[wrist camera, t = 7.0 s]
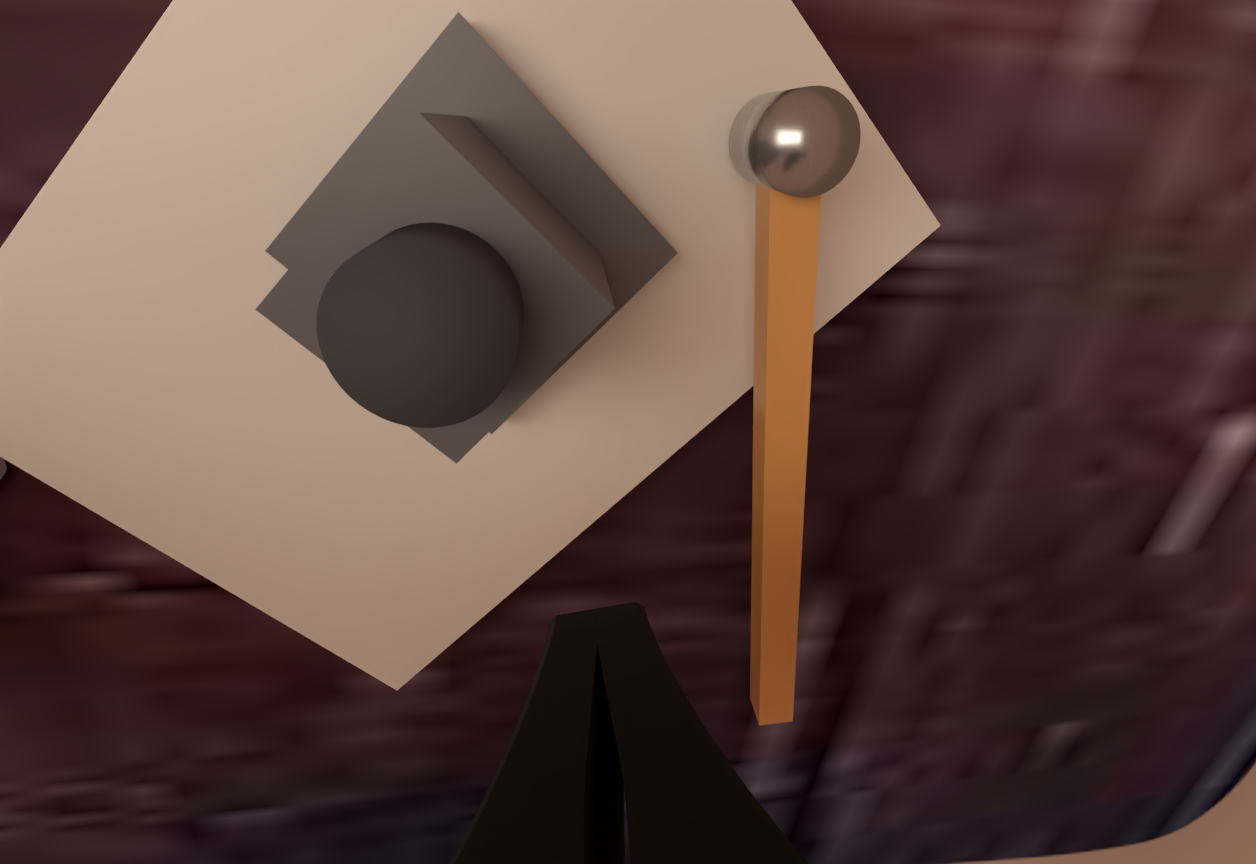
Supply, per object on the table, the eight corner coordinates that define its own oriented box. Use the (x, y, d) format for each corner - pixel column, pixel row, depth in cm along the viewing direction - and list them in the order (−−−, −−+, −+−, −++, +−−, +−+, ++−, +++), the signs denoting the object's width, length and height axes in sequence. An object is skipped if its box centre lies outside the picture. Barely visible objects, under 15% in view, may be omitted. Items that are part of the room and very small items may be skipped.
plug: (503, 382, 18) (452, 609, 10) (321, 226, 16) (48, 342, 8) (656, 229, 17) (754, 338, 8) (480, 35, 15) (365, -90, 6)
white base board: (412, 637, 22) (397, 690, 20) (-20, 362, 17) (-103, 396, 15) (895, 213, 17) (940, 225, 15) (502, -355, 12) (489, -455, 10)
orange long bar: (787, 674, 20) (814, 739, 18) (731, 681, 20) (752, 748, 18) (815, 88, 13) (865, 80, 11) (728, 95, 13) (761, 89, 11)
